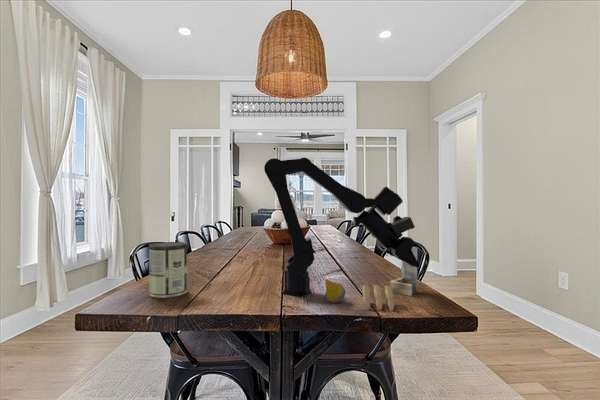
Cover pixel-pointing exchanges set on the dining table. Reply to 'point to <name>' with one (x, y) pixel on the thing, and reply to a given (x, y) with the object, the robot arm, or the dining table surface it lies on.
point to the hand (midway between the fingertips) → (414, 264)
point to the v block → (401, 287)
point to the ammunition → (378, 297)
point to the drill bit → (334, 292)
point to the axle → (410, 273)
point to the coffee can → (167, 269)
